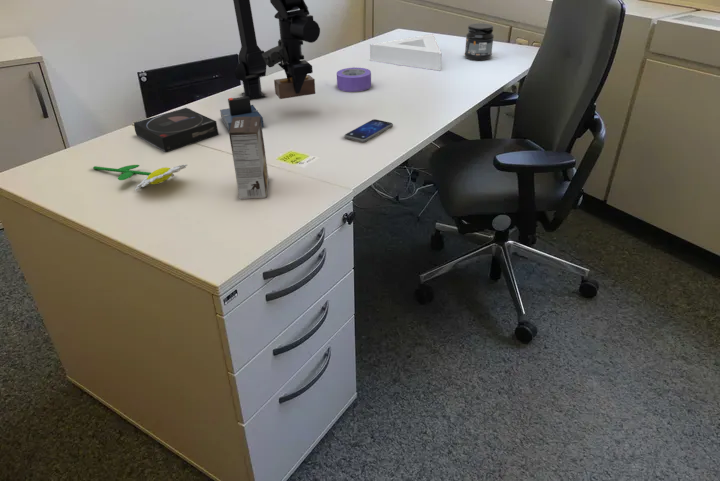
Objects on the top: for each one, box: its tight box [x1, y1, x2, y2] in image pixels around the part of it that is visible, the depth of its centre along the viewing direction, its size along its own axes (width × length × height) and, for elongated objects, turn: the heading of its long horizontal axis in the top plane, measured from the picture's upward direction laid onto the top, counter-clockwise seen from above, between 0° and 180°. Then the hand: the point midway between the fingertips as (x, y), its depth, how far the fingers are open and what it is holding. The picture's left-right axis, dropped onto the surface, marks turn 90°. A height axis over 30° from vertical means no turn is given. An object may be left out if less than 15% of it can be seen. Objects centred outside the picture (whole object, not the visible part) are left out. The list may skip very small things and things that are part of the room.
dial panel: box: [219, 104, 265, 132], centre depth 163 cm, size 12×10×3 cm
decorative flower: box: [93, 164, 188, 192], centre depth 132 cm, size 13×5×30 cm
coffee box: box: [228, 116, 270, 200], centre depth 123 cm, size 9×6×16 cm
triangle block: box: [369, 33, 442, 72], centre depth 215 cm, size 30×26×6 cm
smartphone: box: [344, 118, 394, 143], centre depth 155 cm, size 7×1×15 cm
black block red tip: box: [227, 96, 252, 116], centre depth 160 cm, size 6×2×5 cm, turn 114°
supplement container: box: [464, 22, 495, 62], centre depth 215 cm, size 10×10×12 cm
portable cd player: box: [133, 107, 219, 153], centre depth 156 cm, size 16×17×4 cm
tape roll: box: [336, 67, 372, 93], centre depth 189 cm, size 12×12×5 cm
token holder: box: [273, 74, 316, 100], centre depth 164 cm, size 11×5×5 cm, turn 113°
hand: (294, 90), depth 165 cm, fingers closed on token holder, 5 cm apart
